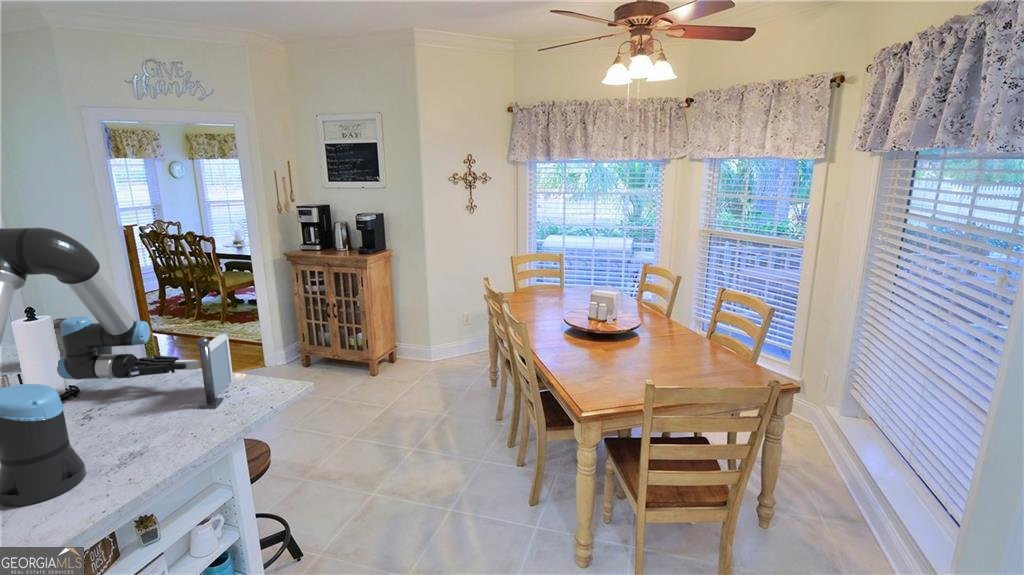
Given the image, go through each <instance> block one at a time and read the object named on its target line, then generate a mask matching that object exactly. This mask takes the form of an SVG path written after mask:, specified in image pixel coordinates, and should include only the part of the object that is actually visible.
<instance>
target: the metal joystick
mask: <svg viewBox="0 0 1024 575" xmlns="http://www.w3.org/2000/svg"><path fill="white" fill-rule="evenodd" d="M209 342H210V339H209V338H208V337H203V336H202V337H200V338H198V339H197V341H196V346H197V347H198V350H199V357H200V364H201V373H202V380H203V387H204V395H205V396H204V397H205V398H204V400H202V402H200V403H199V404H198V406H197V407H198V409H199V408H200V410H201V409H207V410H208V409H217V408H218V407H219V406H220V405H221V404H222V403H223V402H224V401H223V400H224V397H215V393H214V386H213V378H212V370H211V363H210V355H209V347H208V345H209ZM222 401H223V402H222Z"/></svg>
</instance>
